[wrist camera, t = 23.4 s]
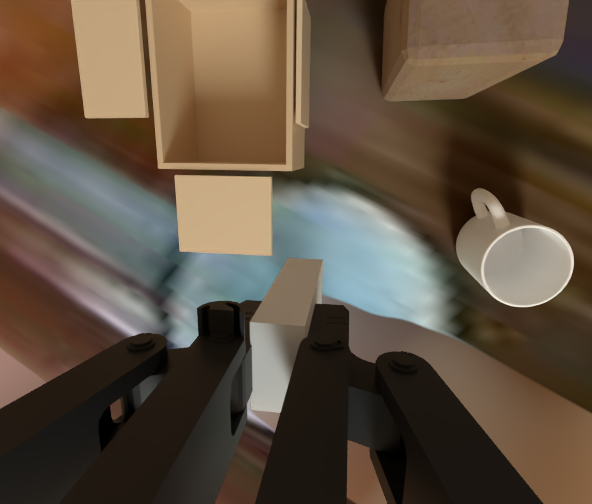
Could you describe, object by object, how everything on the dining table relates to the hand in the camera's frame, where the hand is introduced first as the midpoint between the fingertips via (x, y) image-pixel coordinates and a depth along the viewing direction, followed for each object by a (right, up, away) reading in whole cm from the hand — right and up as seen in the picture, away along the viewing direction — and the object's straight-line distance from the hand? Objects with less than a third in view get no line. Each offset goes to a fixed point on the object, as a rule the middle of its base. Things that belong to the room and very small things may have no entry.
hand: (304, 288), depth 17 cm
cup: (+22, +4, +30) cm, 37 cm away
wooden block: (+14, +24, +26) cm, 38 cm away
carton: (-6, +21, +29) cm, 37 cm away
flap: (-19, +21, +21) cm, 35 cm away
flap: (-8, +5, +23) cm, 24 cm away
